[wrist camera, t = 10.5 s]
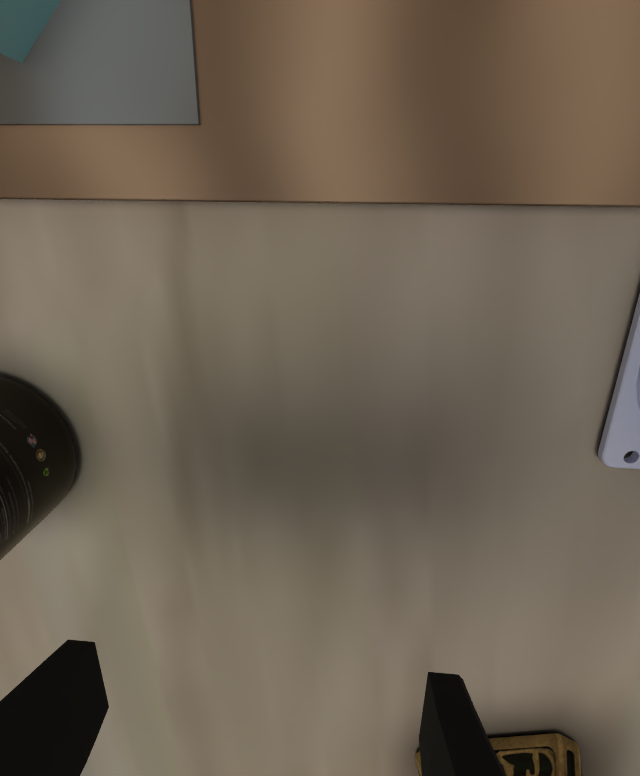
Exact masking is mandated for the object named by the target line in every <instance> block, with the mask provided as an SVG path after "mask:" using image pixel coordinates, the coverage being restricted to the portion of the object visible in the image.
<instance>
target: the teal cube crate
mask: <svg viewBox="0 0 640 776" xmlns="http://www.w3.org/2000/svg"><path fill="white" fill-rule="evenodd" d="M60 1H61V0H0V53H1V54H3V55H5V56H7V57H9V58H12V59H14V60H16V61H18V62H20V63H23V61H24V59H25V58H26V56H27V55H28V53H29V51H30V50H31V48H32V46H33V45H34V43H35V41H36V40H37V38H38V37H39V35H40V33H41V32H42V30H43V28H44V27H45V25H46V23H47V22H48V20H49V19H50V17H51V15H52V14H53V12H54V10H55V9H56V7H57V5H58V4H59V2H60Z"/></svg>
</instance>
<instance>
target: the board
mask: <svg viewBox="0 0 640 776" xmlns="http://www.w3.org/2000/svg"><path fill="white" fill-rule="evenodd" d="M0 199H53V200H132V201H210V202H289V203H368V204H447V205H526V206H604V207H640V0H61V1H60V2H59V4H58V5H57V7H56V9H55V10H54V12H53V14H52V15H51V17H50V19H49V20H48V22H47V23H46V25H45V27H44V28H43V30H42V32H41V33H40V35H39V37H38V38H37V40H36V41H35V43H34V45H33V46H32V48H31V50H30V51H29V53H28V55H27V56H26V58H25V59H24V61H23V63H20V62H18V61H16V60H14V59H12V58H9V57H7V56H5V55H3V54H1V53H0Z"/></svg>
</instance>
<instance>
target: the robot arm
mask: <svg viewBox="0 0 640 776" xmlns="http://www.w3.org/2000/svg"><path fill="white" fill-rule="evenodd" d="M629 451H633V453H632V455H631V456H629V457H628V458H624V455H625V454H626V453H627V452H629ZM598 456H599V458H600V460H601V461H602V462H603V463H604V464H605V465H607V466H608V467H613V468H629V469H640V294H639V298H638V302H637V305H636V309H635V313H634V317H633V321H632V324H631V328H630V332H629V336H628V340H627V343H626V347H625V351H624V355H623V359H622V362H621V366H620V370H619V374H618V378H617V382H616V385H615V389H614V393H613V397H612V401H611V404H610V408H609V412H608V416H607V420H606V423H605V427H604V431H603V435H602V439H601V443H600V446H599V450H598ZM108 707H109V705H108V700H107V696H106V691H105V687H104V682H103V678H102V673H101V669H100V664H99V660H98V655H97V651H96V646H95V642H88V641H77V640H67V641H66V642H65V643H64V644H63V645H62V646H61V647H59V648H58V649H57V650H56V651H55V652H54V653H53V654H52V655H50V656H49V657H48V658H47V659H46V660H45V661H44V662H43V663H42V664H41V665H39V666H38V667H37V668H36V669H35V670H34V671H33V672H32V673H31V674H30V675H29V676H27V677H26V678H25V679H24V680H23V681H22V682H21V683H20V684H19V685H18V686H17V687H15V688H14V689H13V690H12V691H11V692H10V693H9V694H8V695H7V696H6V697H4V698H3V699H2V700H1V701H0V776H80V774H81V772H82V770H83V768H84V766H85V764H86V762H87V760H88V757H89V755H90V752H91V750H92V748H93V745H94V743H95V741H96V738H97V736H98V733H99V731H100V728H101V725H102V723H103V720H104V718H105V715H106V713H107V710H108ZM419 744H420V758H421V772H422V776H507V775H506V773H505V771H504V769H503V767H502V765H501V763H500V761H499V759H498V757H497V755H496V753H495V751H494V749H493V747H492V745H491V743H490V741H489V738H488V736H487V734H486V732H485V730H484V728H483V726H482V723H481V721H480V719H479V717H478V714H477V712H476V710H475V708H474V705H473V703H472V701H471V698H470V696H469V693H468V691H467V689H466V686H465V683H464V681H463V679H462V678H461V677H460V676H459V675H456V674H445V673H434V672H428V677H427V684H426V691H425V698H424V706H423V713H422V720H421V727H420V734H419Z"/></svg>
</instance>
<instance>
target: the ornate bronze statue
mask: <svg viewBox="0 0 640 776" xmlns="http://www.w3.org/2000/svg"><path fill="white" fill-rule="evenodd" d="M489 741H490V743H491V745H492V747H493V749H494V751H495V753H496V755H497V757H498V759H499V761H500V763H501V765H502V767H503V769H504V771H505V773H506V775H507V776H582V768H581V759H580V750H579V748H578V745H577V743H576V742H574V741H572V740H570V739H568V738H566V737H565V736H563V735H561V734H558V733H554V734H541V735H528V736H515V737H503V738H490V739H489ZM415 759H416V765H417V768H418V772H419V775H420V776H422V772H421V758H420V751H419V752H417V753H416V755H415Z"/></svg>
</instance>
